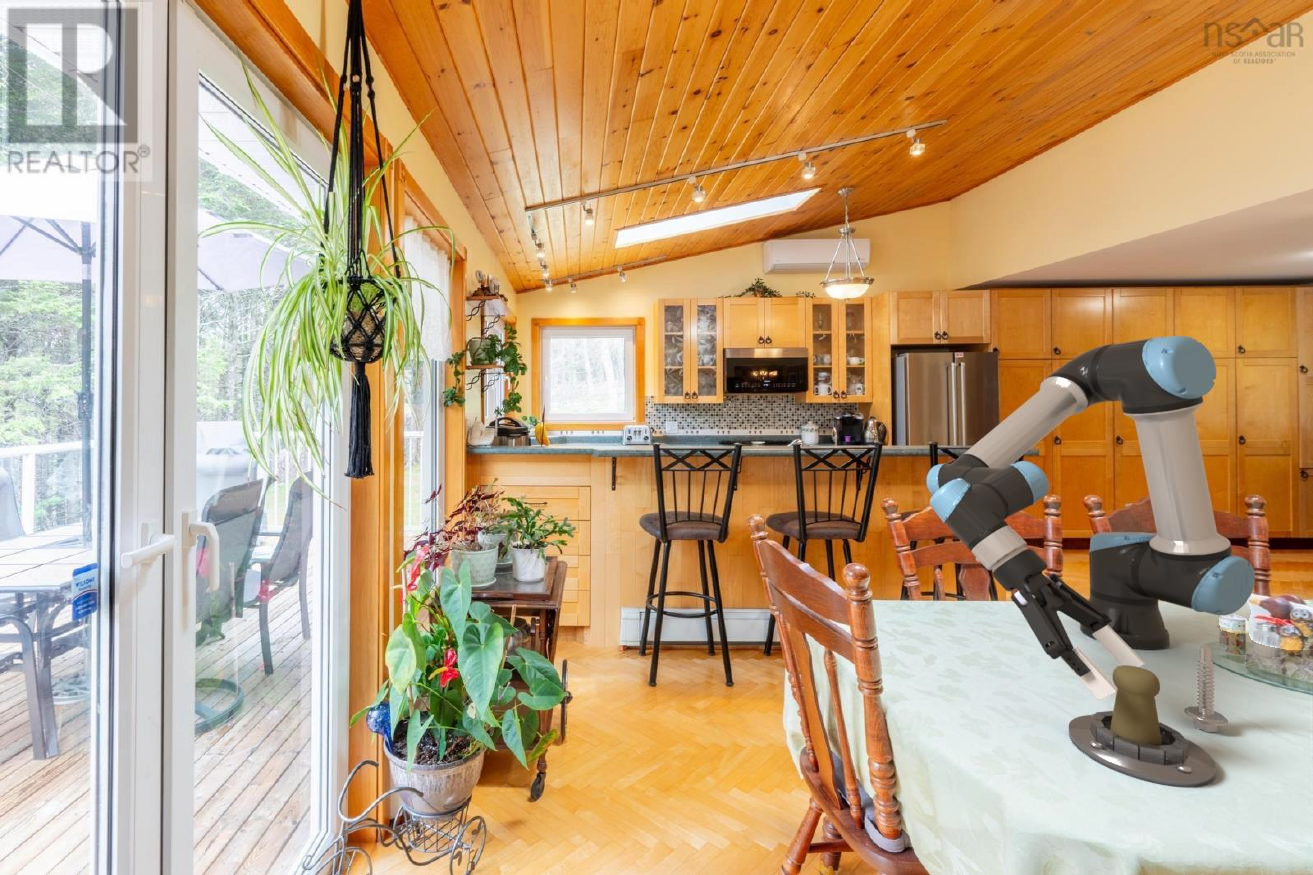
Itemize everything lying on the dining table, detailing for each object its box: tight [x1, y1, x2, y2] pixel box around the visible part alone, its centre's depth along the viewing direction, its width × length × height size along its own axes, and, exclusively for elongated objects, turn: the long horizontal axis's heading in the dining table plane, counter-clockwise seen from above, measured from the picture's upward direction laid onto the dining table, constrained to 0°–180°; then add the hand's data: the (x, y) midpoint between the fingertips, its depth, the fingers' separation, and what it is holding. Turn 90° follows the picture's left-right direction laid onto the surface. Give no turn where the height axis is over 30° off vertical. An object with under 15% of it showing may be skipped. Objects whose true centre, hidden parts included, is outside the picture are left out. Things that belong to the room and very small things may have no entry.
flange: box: [1068, 710, 1216, 788], centre depth 81 cm, size 16×16×3 cm
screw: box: [1183, 645, 1229, 733], centre depth 87 cm, size 13×5×5 cm
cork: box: [1110, 665, 1162, 746], centre depth 80 cm, size 6×6×11 cm
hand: (1123, 681), depth 82 cm, fingers open, 13 cm apart
